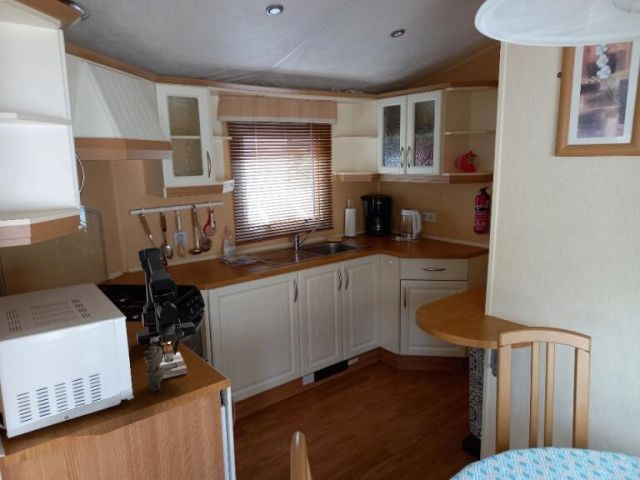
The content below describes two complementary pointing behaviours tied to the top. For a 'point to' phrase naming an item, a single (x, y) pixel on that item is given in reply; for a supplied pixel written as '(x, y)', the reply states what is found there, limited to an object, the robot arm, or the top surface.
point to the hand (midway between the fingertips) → (168, 356)
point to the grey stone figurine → (154, 367)
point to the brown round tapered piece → (168, 351)
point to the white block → (173, 366)
